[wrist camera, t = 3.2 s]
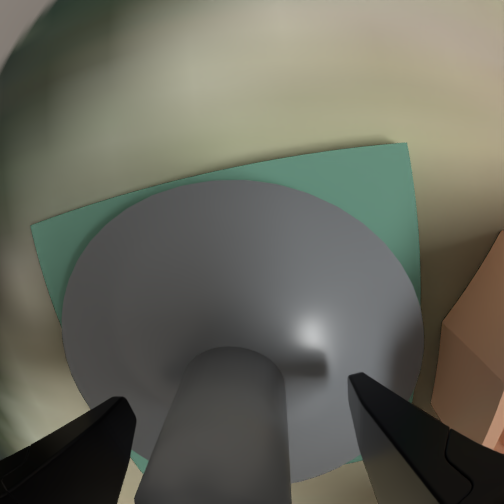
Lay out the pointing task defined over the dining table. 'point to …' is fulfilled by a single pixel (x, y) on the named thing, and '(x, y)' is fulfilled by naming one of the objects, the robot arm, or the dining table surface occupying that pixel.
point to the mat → (273, 171)
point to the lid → (238, 335)
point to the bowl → (475, 357)
